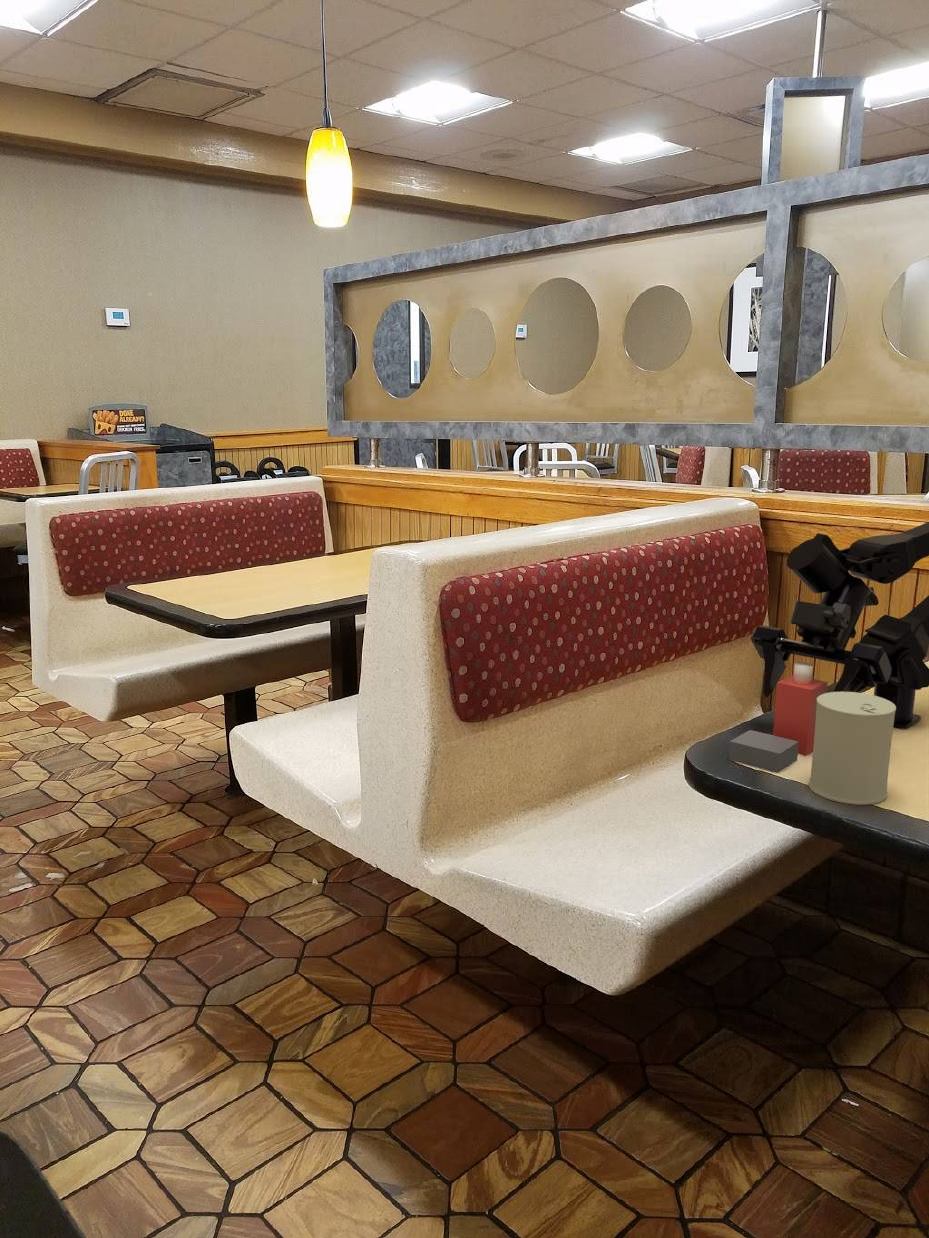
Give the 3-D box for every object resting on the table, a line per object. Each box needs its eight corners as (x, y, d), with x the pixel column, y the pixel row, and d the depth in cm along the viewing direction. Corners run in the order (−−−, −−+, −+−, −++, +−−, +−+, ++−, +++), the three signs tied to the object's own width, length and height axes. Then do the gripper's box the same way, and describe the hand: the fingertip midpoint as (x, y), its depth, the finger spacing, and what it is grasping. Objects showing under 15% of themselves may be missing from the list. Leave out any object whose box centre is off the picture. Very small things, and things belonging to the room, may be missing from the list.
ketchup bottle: (788, 738, 140) (794, 657, 137) (821, 746, 137) (829, 664, 134) (771, 747, 136) (778, 664, 134) (806, 756, 133) (813, 672, 130)
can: (838, 808, 116) (847, 713, 113) (793, 780, 125) (801, 690, 122) (903, 800, 119) (914, 707, 116) (855, 772, 127) (863, 685, 124)
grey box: (748, 750, 136) (750, 729, 135) (796, 762, 132) (798, 741, 131) (728, 762, 132) (730, 741, 131) (777, 775, 127) (779, 753, 127)
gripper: (761, 570, 140) (717, 658, 135) (892, 588, 128) (848, 686, 122) (782, 615, 148) (741, 700, 142) (908, 636, 135) (868, 730, 130)
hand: (796, 703), depth 134 cm, fingers open, 9 cm apart
